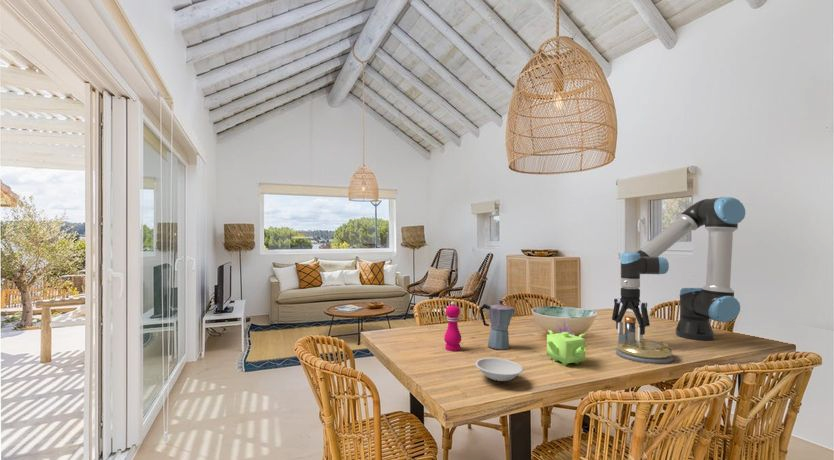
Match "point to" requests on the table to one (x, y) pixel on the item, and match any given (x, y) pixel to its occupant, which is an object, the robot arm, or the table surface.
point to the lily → (565, 328)
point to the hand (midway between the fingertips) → (630, 339)
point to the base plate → (643, 358)
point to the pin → (629, 324)
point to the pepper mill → (452, 328)
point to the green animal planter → (566, 347)
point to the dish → (499, 368)
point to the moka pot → (498, 324)
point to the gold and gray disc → (642, 347)
